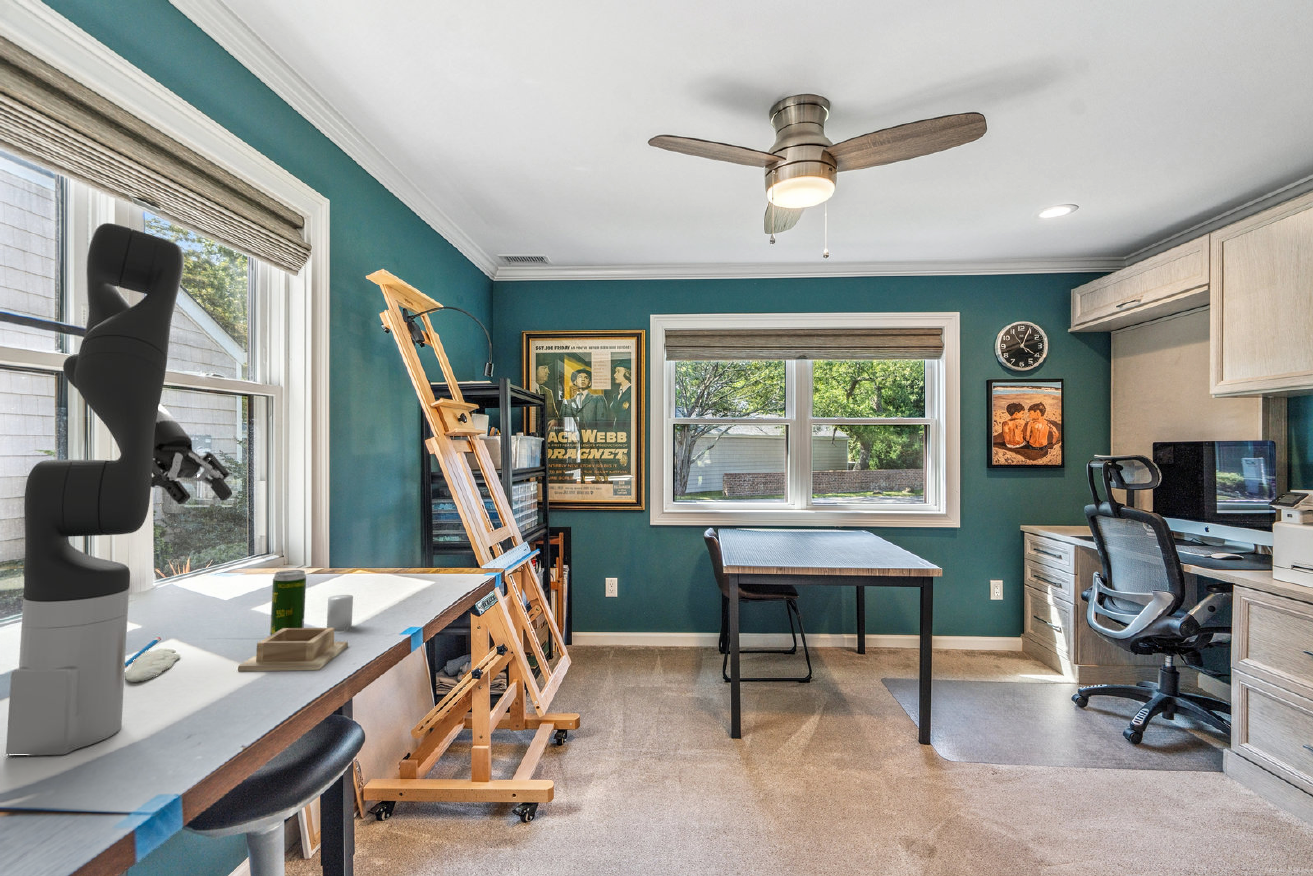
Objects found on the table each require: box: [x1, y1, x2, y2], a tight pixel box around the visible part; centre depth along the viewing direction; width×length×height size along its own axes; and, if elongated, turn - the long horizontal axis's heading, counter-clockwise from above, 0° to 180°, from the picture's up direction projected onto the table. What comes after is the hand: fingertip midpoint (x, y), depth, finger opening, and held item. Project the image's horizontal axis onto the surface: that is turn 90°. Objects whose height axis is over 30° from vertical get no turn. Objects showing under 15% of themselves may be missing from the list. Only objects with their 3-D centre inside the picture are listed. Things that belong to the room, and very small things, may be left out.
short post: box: [326, 594, 354, 632], centre depth 119 cm, size 4×4×6 cm
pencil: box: [125, 636, 162, 669], centre depth 101 cm, size 1×17×1 cm, turn 24°
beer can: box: [269, 569, 307, 636], centre depth 112 cm, size 5×5×12 cm
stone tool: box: [124, 648, 181, 683], centre depth 94 cm, size 6×2×15 cm
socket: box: [237, 627, 349, 672], centre depth 101 cm, size 12×12×4 cm
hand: (207, 499), depth 107 cm, fingers open, 8 cm apart
